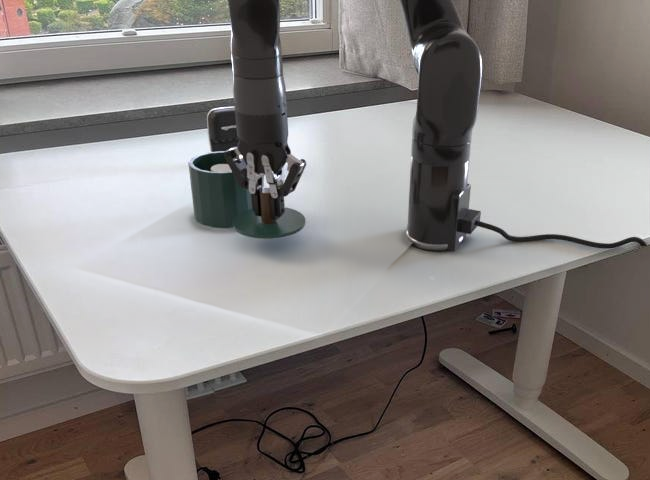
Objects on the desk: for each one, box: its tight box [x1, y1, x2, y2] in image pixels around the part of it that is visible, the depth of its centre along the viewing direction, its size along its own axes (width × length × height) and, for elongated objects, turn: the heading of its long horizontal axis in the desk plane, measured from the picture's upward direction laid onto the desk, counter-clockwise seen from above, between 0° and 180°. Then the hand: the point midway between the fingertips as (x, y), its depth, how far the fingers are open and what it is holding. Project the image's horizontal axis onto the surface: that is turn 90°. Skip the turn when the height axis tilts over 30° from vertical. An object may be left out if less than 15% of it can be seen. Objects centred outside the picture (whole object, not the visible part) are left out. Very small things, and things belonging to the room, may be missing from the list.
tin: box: [187, 151, 252, 229], centre depth 131 cm, size 10×10×10 cm
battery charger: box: [206, 106, 239, 152], centre depth 150 cm, size 7×4×11 cm, turn 122°
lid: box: [232, 187, 307, 240], centre depth 122 cm, size 11×11×6 cm
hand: (269, 215), depth 122 cm, fingers closed on lid, 2 cm apart
